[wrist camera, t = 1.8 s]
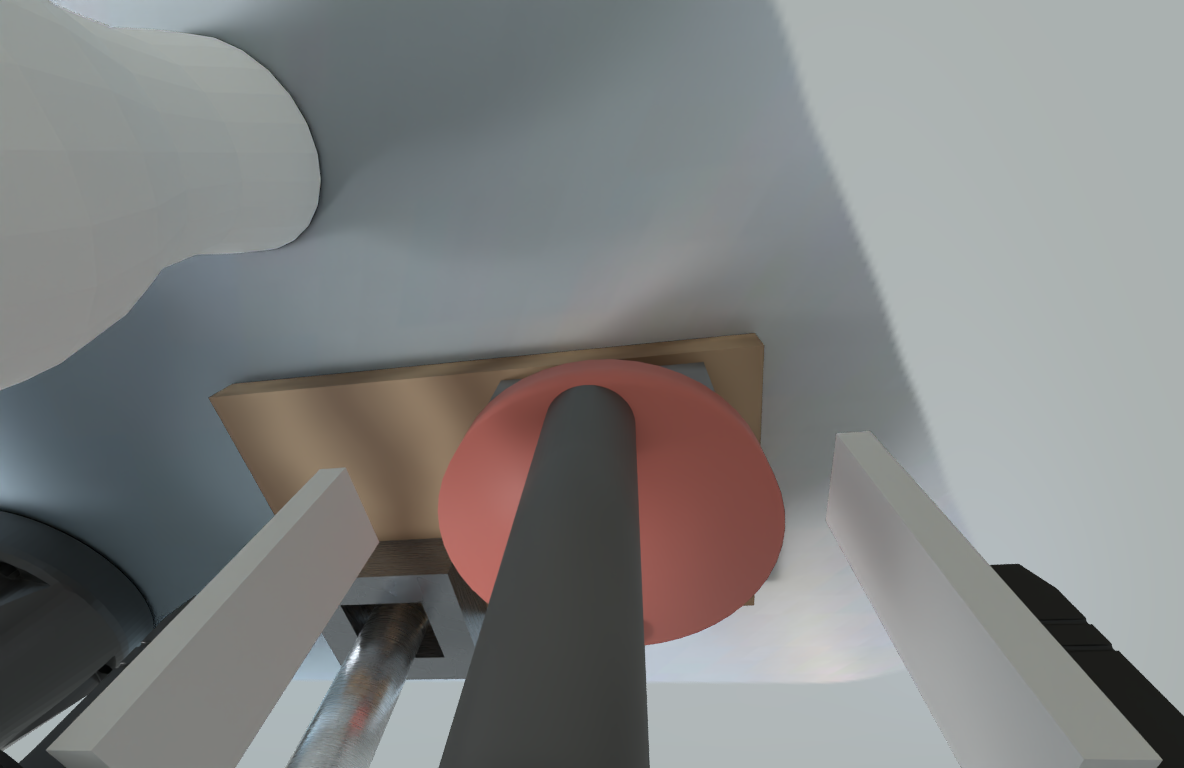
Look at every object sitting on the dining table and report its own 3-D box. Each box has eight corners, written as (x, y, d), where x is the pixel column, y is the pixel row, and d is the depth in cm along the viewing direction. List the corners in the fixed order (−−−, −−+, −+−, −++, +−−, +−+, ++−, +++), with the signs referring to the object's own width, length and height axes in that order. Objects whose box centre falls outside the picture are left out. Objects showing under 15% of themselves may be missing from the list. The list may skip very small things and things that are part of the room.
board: (346, 598, 30) (303, 665, 26) (232, 384, 23) (150, 431, 19) (747, 583, 27) (769, 656, 23) (754, 333, 20) (787, 376, 16)
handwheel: (493, 610, 23) (376, 1018, 12) (416, 376, 17) (60, 752, 6) (763, 602, 21) (906, 1058, 10) (777, 341, 16) (1118, 757, 5)
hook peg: (396, 612, 28) (198, 1006, 15) (368, 553, 26) (110, 954, 13) (445, 610, 28) (287, 1012, 15) (421, 550, 26) (210, 960, 13)
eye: (370, 641, 30) (349, 680, 28) (319, 544, 26) (290, 580, 24) (497, 637, 29) (486, 678, 27) (463, 536, 25) (447, 573, 23)
